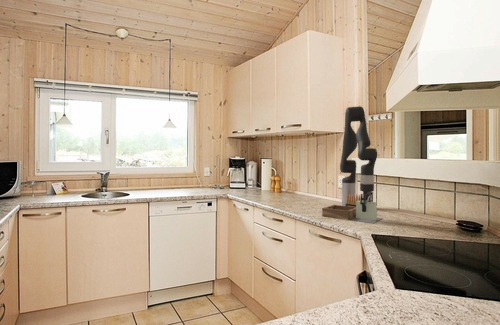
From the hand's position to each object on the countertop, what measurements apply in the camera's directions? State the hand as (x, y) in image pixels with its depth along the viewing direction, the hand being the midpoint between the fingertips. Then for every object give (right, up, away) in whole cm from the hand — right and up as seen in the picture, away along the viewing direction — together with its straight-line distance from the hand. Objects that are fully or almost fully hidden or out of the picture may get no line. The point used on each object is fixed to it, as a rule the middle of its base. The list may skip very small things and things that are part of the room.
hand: (366, 210), depth 188 cm
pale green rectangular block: (0, -5, 0) cm, 5 cm away
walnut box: (-12, -5, +11) cm, 17 cm away
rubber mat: (0, -5, 0) cm, 5 cm away
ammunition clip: (0, -5, +24) cm, 24 cm away
